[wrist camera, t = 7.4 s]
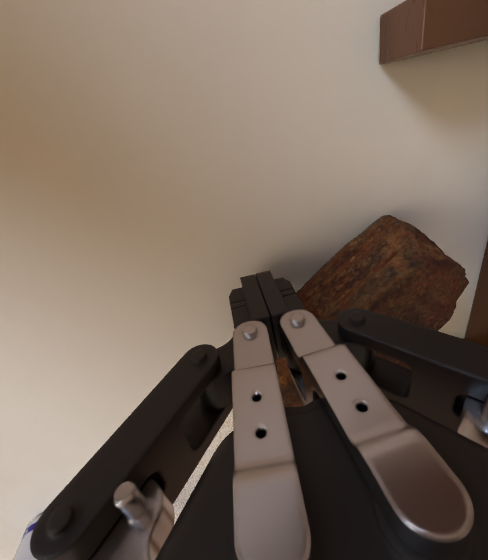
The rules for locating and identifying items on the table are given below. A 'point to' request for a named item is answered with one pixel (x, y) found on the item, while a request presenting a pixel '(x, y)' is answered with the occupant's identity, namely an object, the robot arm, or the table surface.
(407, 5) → the bracket
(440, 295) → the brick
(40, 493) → the table surface
